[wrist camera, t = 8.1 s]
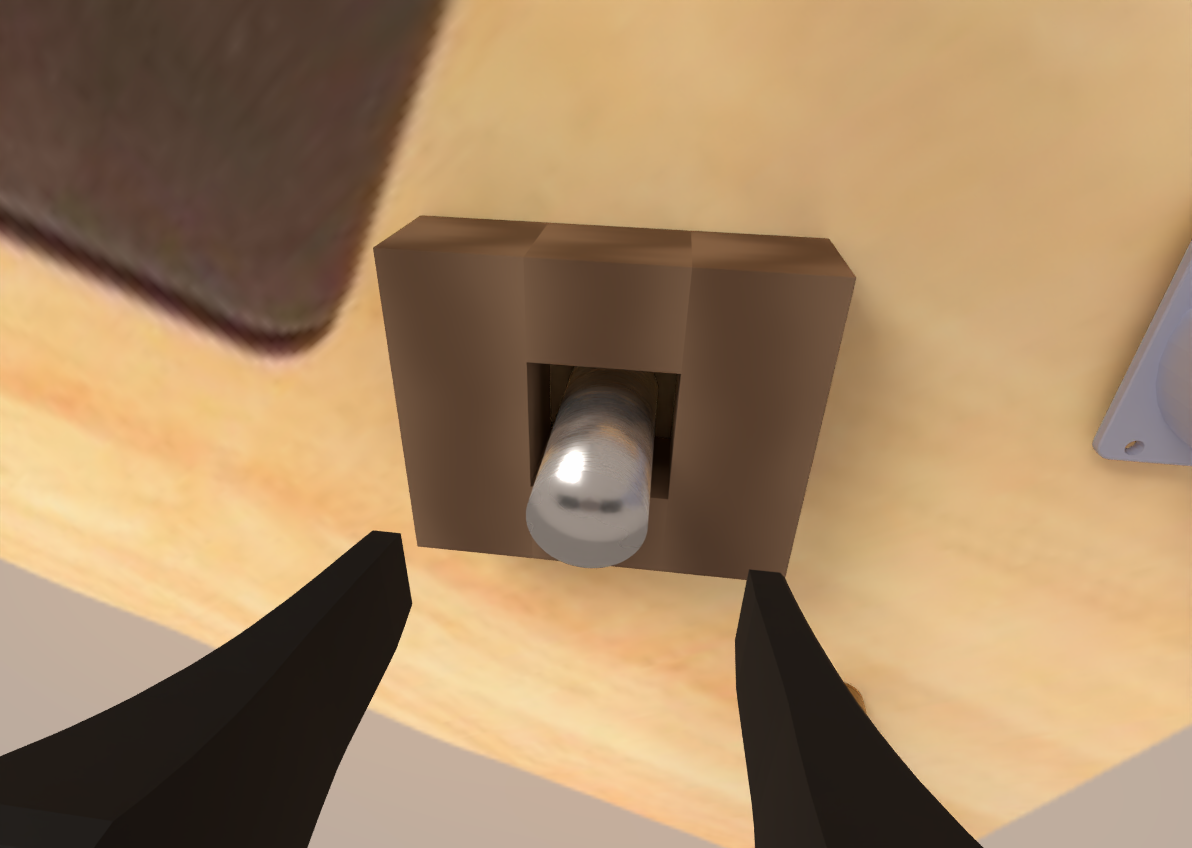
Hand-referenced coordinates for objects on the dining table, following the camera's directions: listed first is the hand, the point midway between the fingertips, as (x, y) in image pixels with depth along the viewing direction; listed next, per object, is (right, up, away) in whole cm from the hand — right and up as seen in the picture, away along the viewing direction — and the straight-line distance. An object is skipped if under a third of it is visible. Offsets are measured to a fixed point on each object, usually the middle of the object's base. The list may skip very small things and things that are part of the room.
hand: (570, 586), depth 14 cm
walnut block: (+1, +5, +8) cm, 10 cm away
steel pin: (+1, +5, +8) cm, 10 cm away
